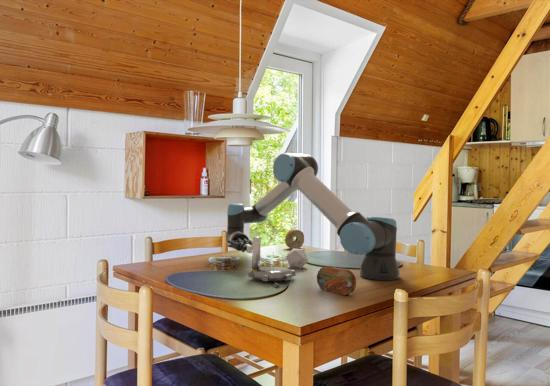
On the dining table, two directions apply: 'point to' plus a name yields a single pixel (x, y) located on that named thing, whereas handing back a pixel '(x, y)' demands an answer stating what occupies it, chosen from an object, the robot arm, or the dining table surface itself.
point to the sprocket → (267, 272)
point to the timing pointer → (276, 284)
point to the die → (297, 258)
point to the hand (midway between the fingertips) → (250, 249)
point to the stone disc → (297, 242)
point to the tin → (336, 280)
